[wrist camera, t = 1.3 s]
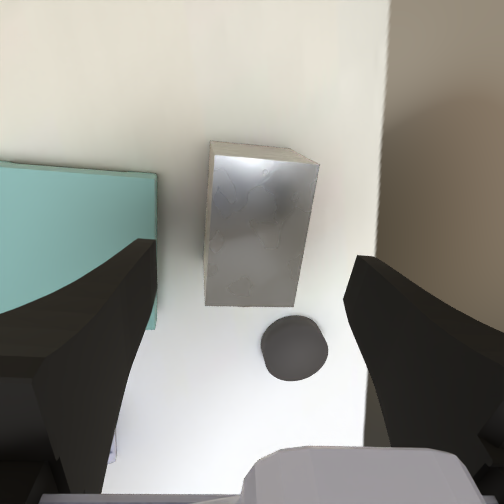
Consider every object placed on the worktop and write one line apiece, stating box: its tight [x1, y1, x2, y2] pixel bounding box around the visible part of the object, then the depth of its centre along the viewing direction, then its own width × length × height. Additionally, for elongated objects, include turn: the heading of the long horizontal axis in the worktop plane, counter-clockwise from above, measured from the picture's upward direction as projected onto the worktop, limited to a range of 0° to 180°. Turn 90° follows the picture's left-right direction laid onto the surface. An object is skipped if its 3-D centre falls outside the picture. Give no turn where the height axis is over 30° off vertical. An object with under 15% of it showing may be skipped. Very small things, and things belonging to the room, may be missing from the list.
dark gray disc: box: [261, 316, 328, 381], centre depth 27 cm, size 5×5×2 cm
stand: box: [0, 161, 157, 330], centre depth 21 cm, size 10×10×2 cm
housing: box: [203, 141, 320, 307], centre depth 20 cm, size 9×5×6 cm, turn 173°
